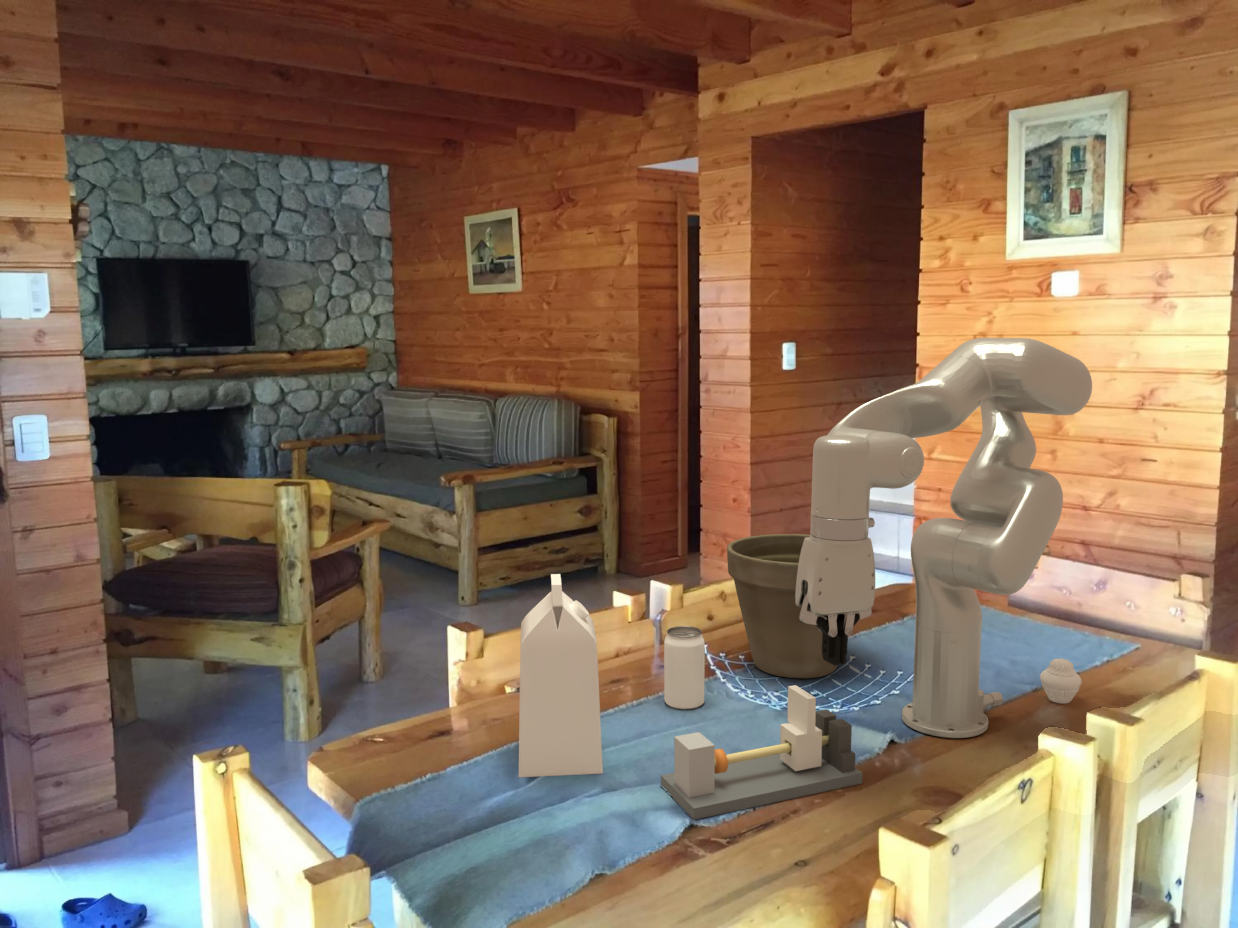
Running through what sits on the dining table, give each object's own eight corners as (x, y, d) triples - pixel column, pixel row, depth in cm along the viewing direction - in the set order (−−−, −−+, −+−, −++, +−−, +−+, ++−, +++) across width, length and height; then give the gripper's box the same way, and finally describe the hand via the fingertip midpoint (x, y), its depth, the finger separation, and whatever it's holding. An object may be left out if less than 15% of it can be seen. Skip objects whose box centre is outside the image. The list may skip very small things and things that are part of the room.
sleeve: (803, 752, 140) (804, 683, 138) (823, 767, 135) (824, 696, 134) (778, 757, 138) (779, 687, 137) (797, 772, 134) (798, 700, 132)
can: (701, 711, 160) (702, 638, 158) (661, 708, 161) (661, 636, 159) (706, 696, 166) (706, 626, 164) (667, 693, 167) (667, 624, 166)
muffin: (1086, 699, 163) (1088, 657, 162) (1072, 710, 159) (1074, 667, 158) (1047, 690, 168) (1049, 649, 166) (1032, 700, 163) (1034, 658, 162)
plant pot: (823, 636, 196) (825, 527, 193) (896, 679, 173) (900, 556, 170) (704, 651, 188) (704, 537, 185) (764, 698, 165) (765, 569, 162)
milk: (519, 740, 150) (515, 569, 146) (597, 737, 151) (594, 567, 147) (518, 777, 138) (513, 592, 134) (602, 773, 139) (600, 589, 135)
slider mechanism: (820, 753, 144) (821, 700, 143) (862, 783, 135) (863, 727, 134) (660, 785, 135) (660, 729, 134) (693, 819, 126) (693, 759, 125)
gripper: (869, 519, 140) (863, 647, 143) (775, 526, 135) (771, 659, 137) (903, 530, 133) (897, 664, 136) (806, 537, 128) (801, 677, 130)
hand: (834, 661), depth 137 cm, fingers closed
